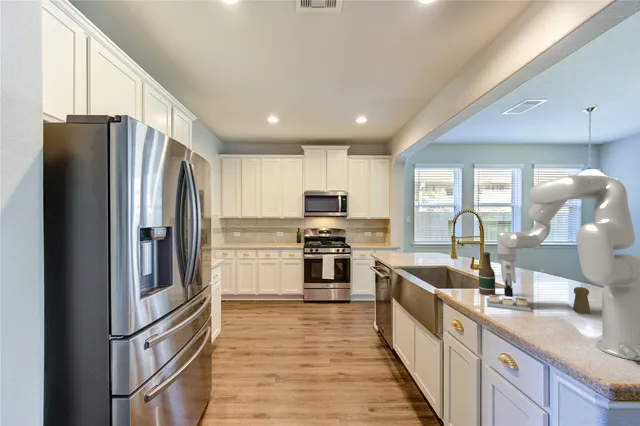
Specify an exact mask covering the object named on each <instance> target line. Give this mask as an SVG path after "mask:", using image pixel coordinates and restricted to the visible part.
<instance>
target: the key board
mask: <svg viewBox="0 0 640 426" xmlns="http://www.w3.org/2000/svg"><path fill="white" fill-rule="evenodd" d="M486 306H487V308H493V309H502V310H510V311H518V312H525V313H526V312H527V313H532V312H533V311H532V309H531V307H530V305H529V303H528V302H527V307H518V306H516V300H513V306H510V305H503V304H502V299H500V298H499V304H493V303H489V297H486Z"/></svg>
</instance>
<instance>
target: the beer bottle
mask: <svg viewBox="0 0 640 426" xmlns="http://www.w3.org/2000/svg"><path fill="white" fill-rule="evenodd" d="M491 263H492V262H491V253H490V252H485V251H484V252H482V265H481V268H480V269H479V271H478V290H479V291H478V293H479V295H481V296H487V297H489V295H495V296H496V273H495V271H494V269H493V268H492V264H491Z"/></svg>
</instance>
